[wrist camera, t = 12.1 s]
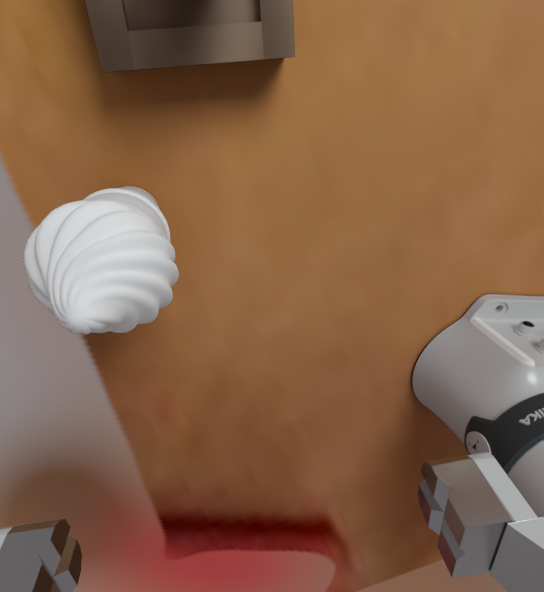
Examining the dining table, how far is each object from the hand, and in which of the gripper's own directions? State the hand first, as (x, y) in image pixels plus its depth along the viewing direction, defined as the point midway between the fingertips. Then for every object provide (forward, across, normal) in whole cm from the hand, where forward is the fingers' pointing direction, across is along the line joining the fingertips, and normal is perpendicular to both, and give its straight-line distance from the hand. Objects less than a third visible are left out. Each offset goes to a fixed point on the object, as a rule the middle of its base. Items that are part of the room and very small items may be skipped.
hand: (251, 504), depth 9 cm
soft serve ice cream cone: (+28, +8, +1) cm, 29 cm away
